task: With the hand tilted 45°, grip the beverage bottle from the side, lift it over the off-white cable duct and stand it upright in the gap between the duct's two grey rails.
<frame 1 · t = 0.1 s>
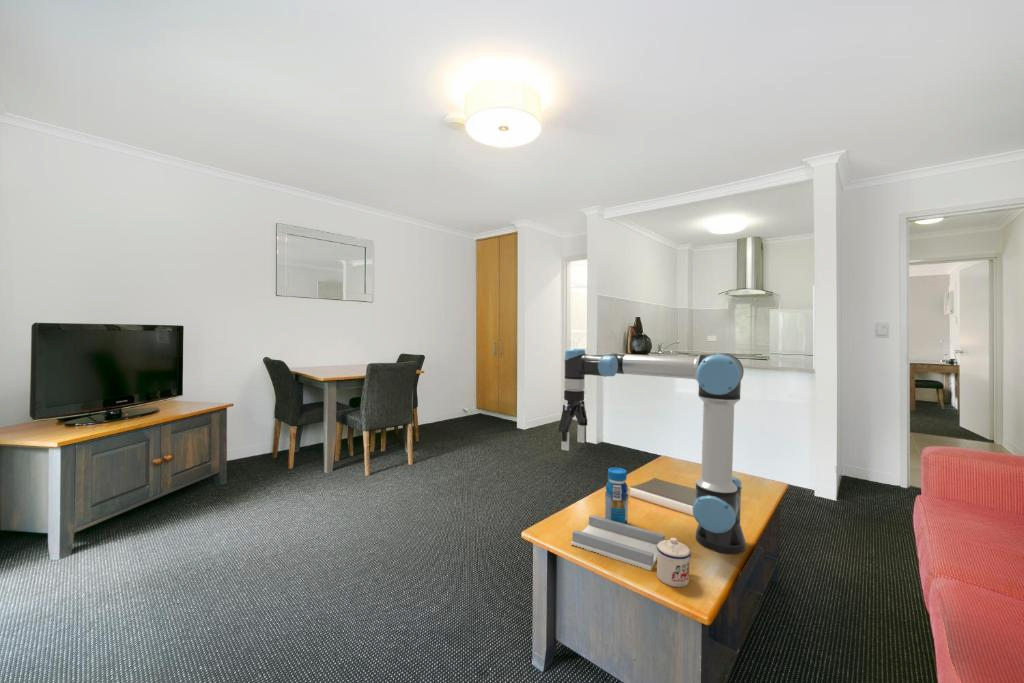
hand: (573, 446, 157), 28 cm above the table, tool pointing down, fingers open, 13 cm apart
beverage bottle: (616, 524, 155), on the table
teacup with lid: (676, 577, 121), on the table
cable duct: (618, 545, 139), on the table
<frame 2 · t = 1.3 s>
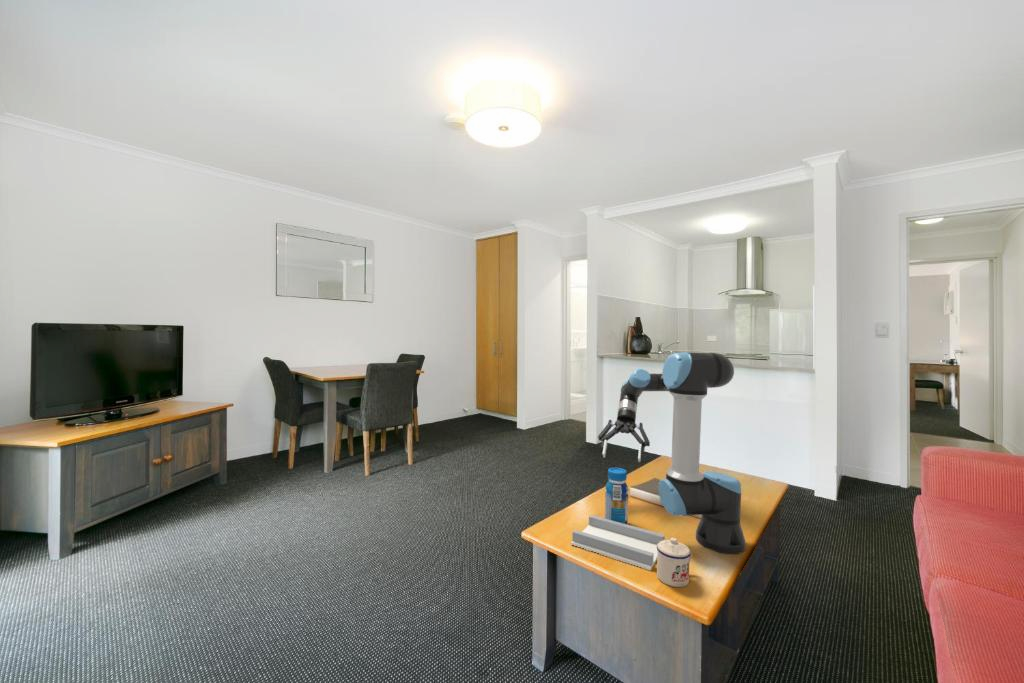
hand: (621, 458, 164), 22 cm above the table, tool tilted 45°, fingers open, 13 cm apart
nothing on the table moved.
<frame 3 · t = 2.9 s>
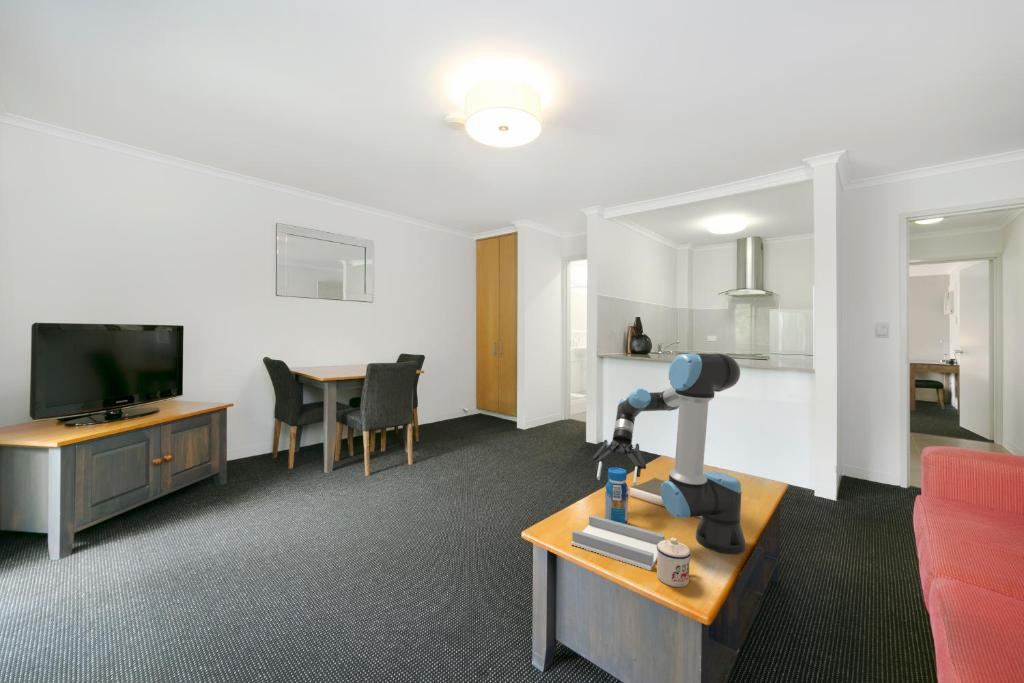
hand: (616, 481, 158), 15 cm above the table, tool tilted 45°, fingers open, 13 cm apart
nothing on the table moved.
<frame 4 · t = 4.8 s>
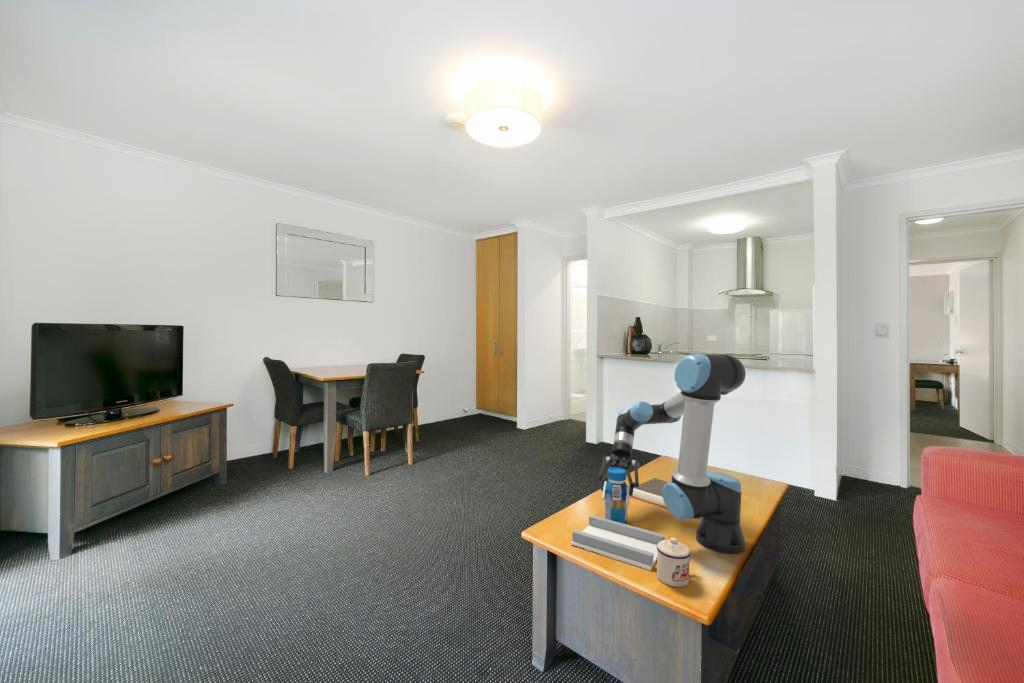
hand: (615, 501, 152), 10 cm above the table, tool tilted 45°, fingers closed on beverage bottle, 8 cm apart
beverage bottle: (616, 523, 155), on the table, touching gripper
everything else where it was.
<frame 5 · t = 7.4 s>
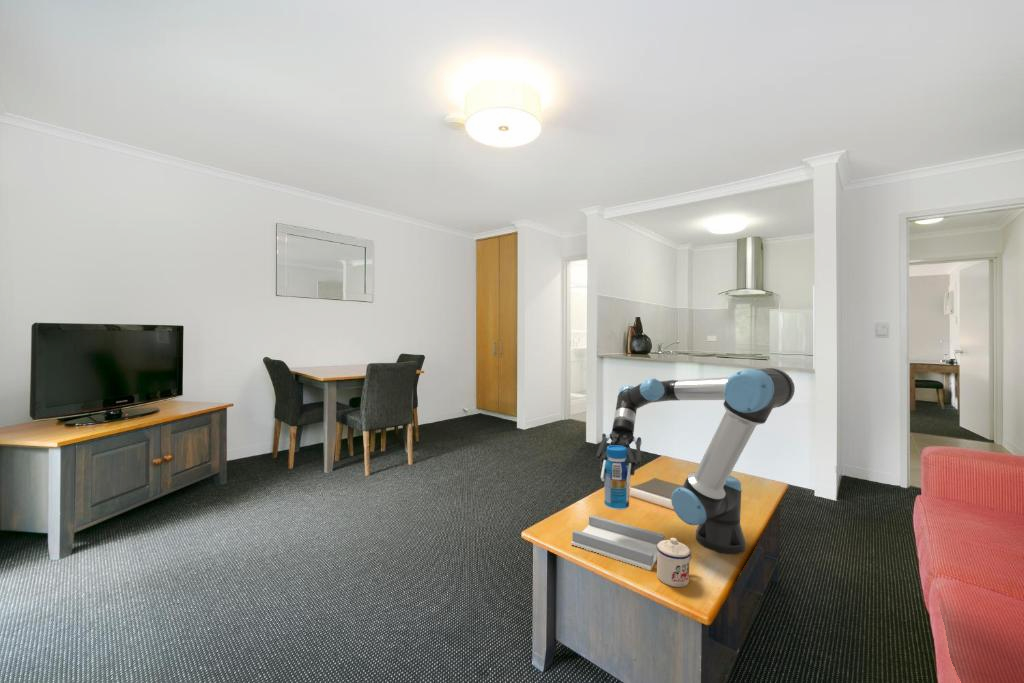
hand: (615, 481, 139), 21 cm above the table, tool tilted 45°, fingers closed on beverage bottle, 8 cm apart
beverage bottle: (616, 506, 142), point 12 cm above the table, touching gripper
everything else where it was.
when the fingers open (12 cm above the table, at t = 10.4 s): beverage bottle drops 1 cm, resting on cable duct.
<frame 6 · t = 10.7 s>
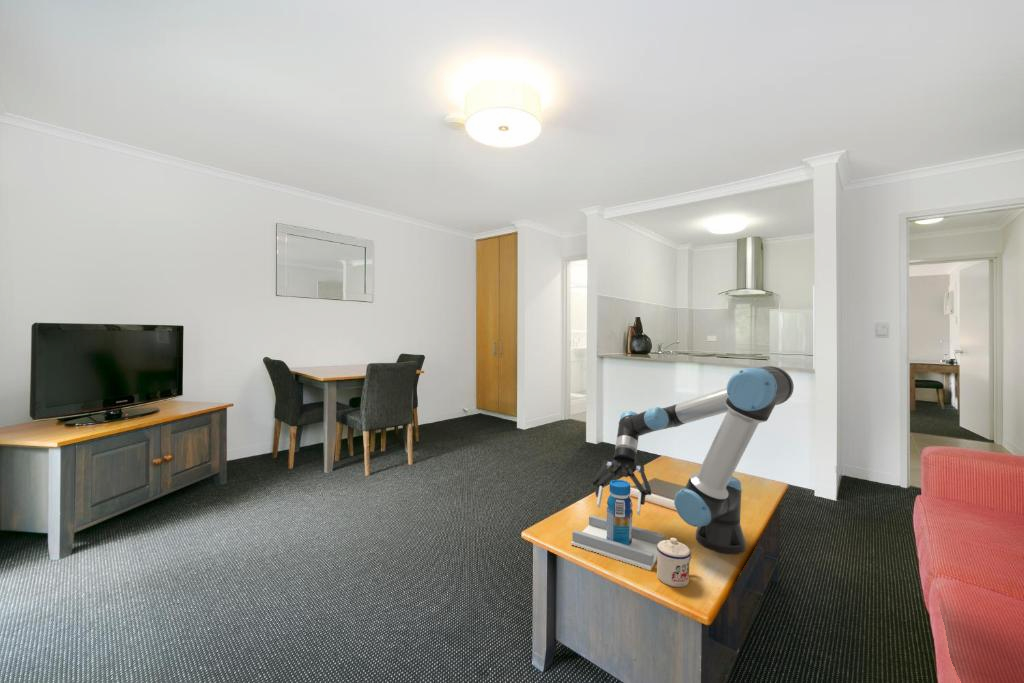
hand: (617, 509, 136), 13 cm above the table, tool tilted 45°, fingers open, 12 cm apart
beverage bottle: (618, 542, 139), point 1 cm above the table, touching cable duct
everything else where it was.
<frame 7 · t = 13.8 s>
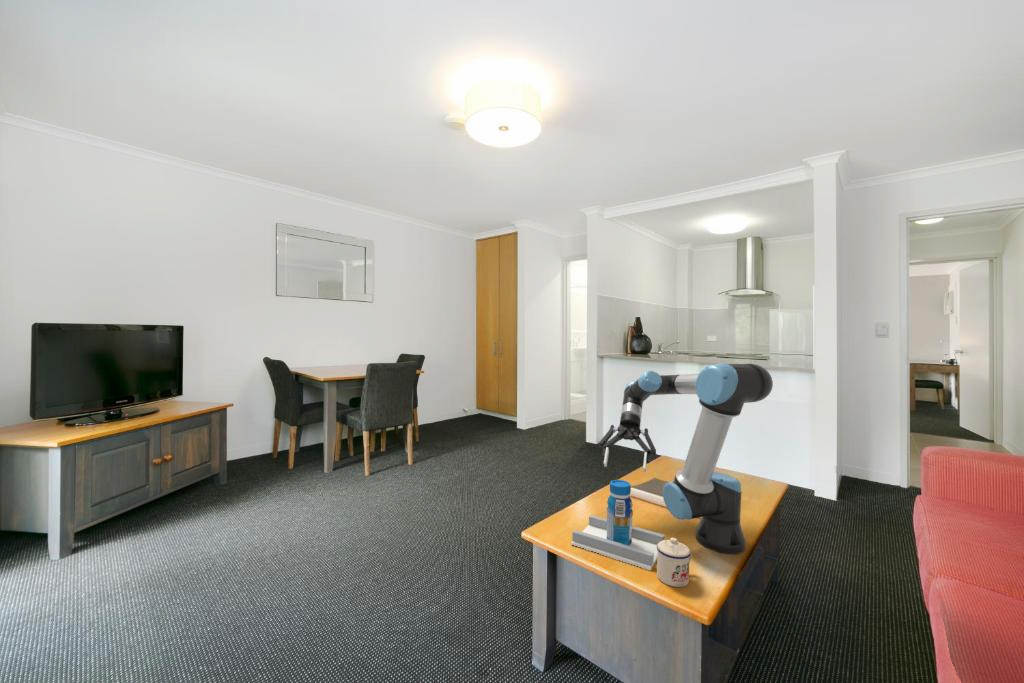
hand: (624, 467, 148), 23 cm above the table, tool tilted 45°, fingers open, 13 cm apart
nothing on the table moved.
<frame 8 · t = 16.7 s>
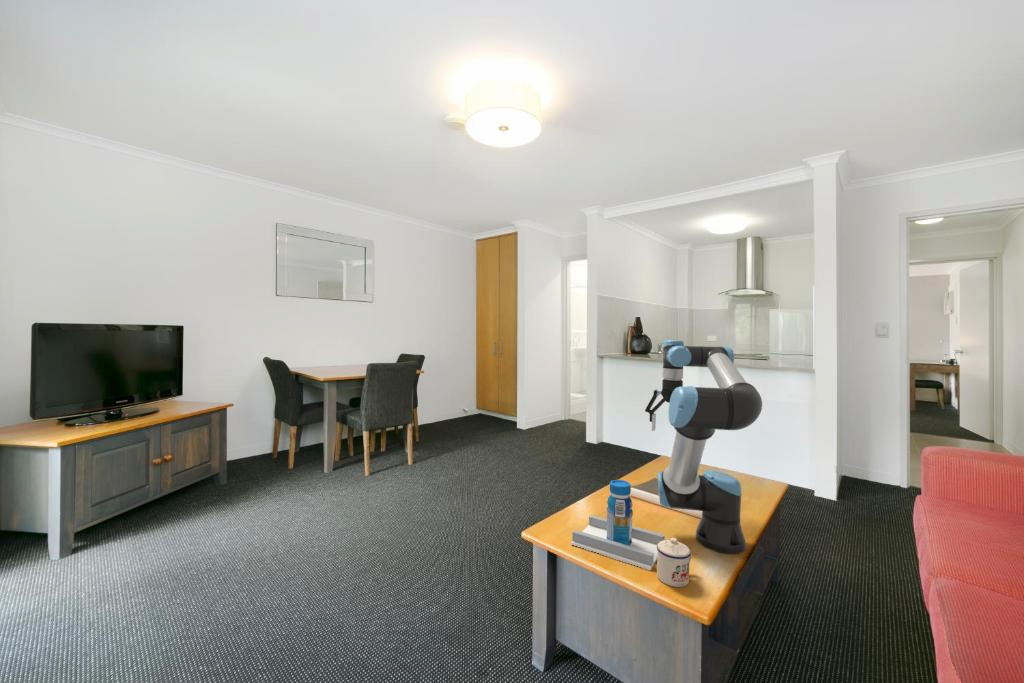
hand: (671, 432, 165), 32 cm above the table, tool pointing down, fingers open, 13 cm apart
nothing on the table moved.
at the end: beverage bottle inside the target area on the cable duct (0.2 cm from its centre), point 0.8 cm above the cable duct's base; beverage bottle tilted 0°; the gripper is holding nothing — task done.
